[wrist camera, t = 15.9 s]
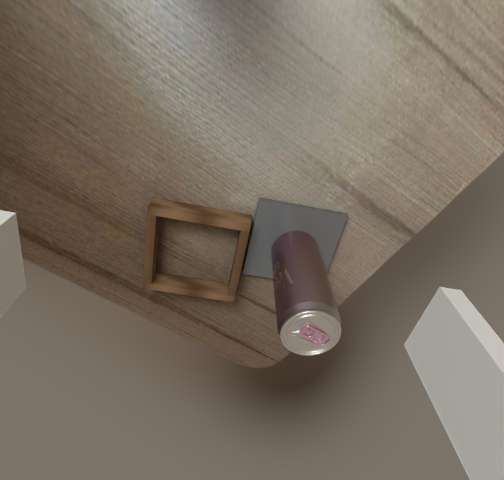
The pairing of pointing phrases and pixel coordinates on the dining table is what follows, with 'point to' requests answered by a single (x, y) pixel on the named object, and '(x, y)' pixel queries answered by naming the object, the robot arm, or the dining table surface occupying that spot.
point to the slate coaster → (290, 219)
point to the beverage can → (303, 296)
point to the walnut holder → (201, 216)
